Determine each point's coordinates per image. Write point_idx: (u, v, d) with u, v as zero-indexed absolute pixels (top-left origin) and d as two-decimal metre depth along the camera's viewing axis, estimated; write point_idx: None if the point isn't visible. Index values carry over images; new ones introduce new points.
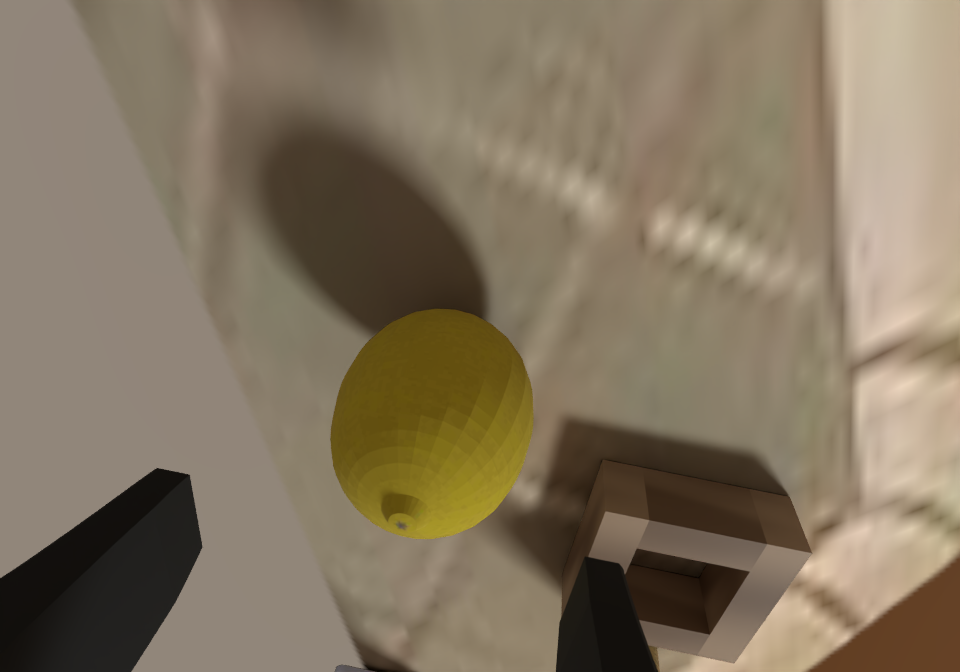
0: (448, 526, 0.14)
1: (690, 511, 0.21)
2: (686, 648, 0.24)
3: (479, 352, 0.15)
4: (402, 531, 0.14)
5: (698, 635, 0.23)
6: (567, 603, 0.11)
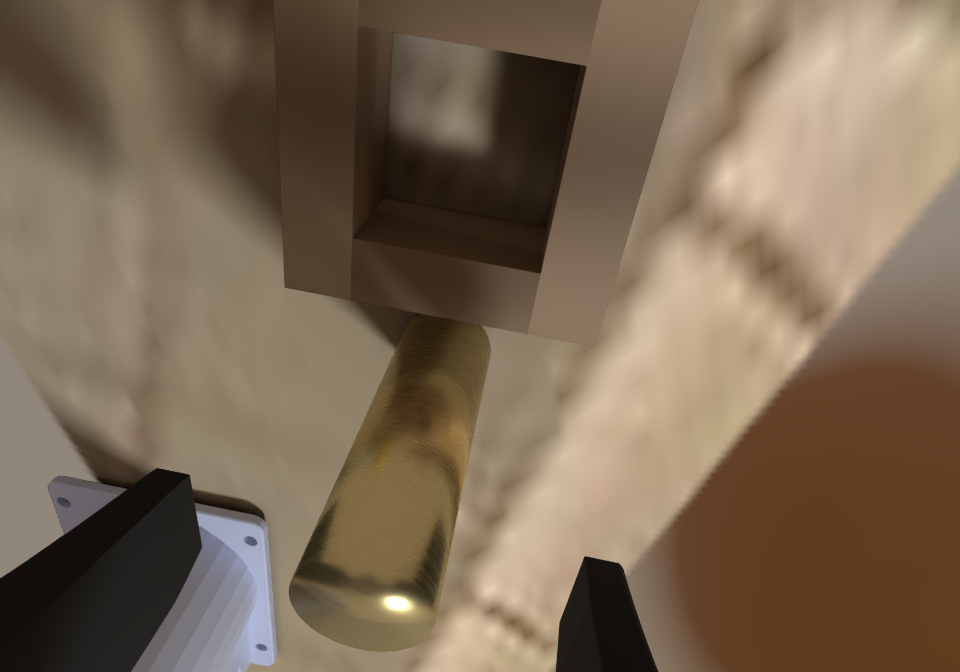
0: None
1: None
2: (505, 317, 0.13)
3: None
4: None
5: (521, 279, 0.13)
6: (567, 603, 0.11)
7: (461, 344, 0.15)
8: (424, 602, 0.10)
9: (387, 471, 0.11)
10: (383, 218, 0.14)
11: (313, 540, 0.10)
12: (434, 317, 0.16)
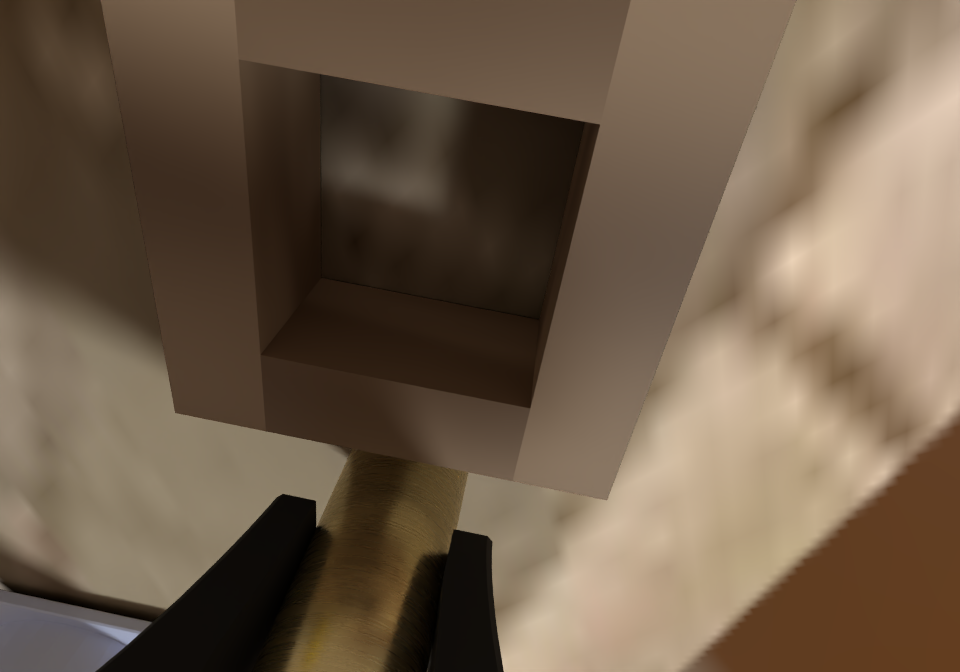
0: None
1: None
2: (481, 460, 0.09)
3: None
4: None
5: (502, 414, 0.09)
6: None
7: (427, 471, 0.11)
8: None
9: None
10: (313, 314, 0.10)
11: None
12: None
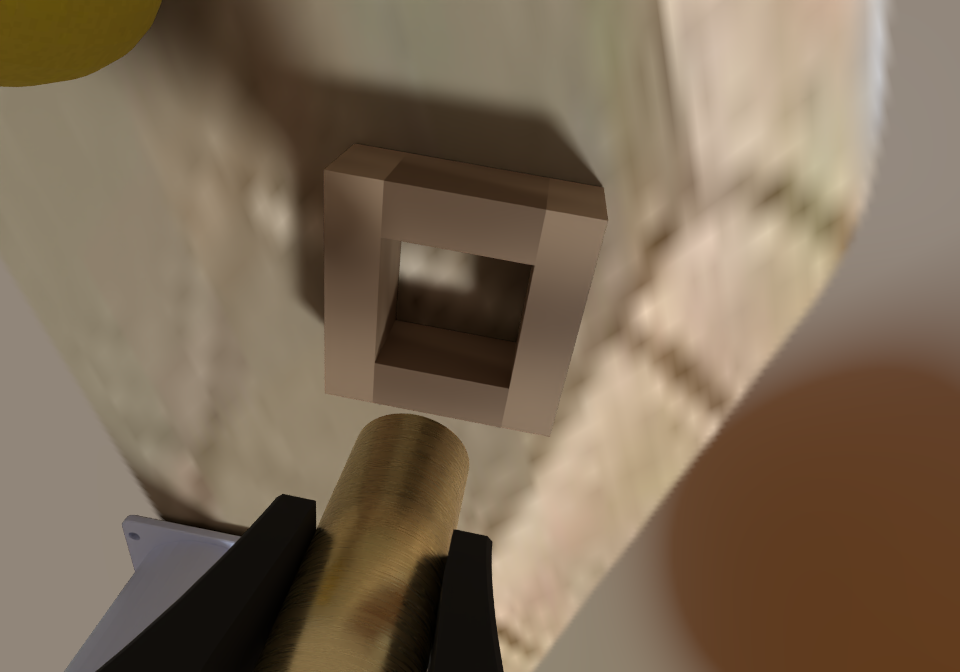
0: None
1: (450, 181, 0.15)
2: (485, 416, 0.18)
3: None
4: None
5: (495, 391, 0.18)
6: None
7: (426, 473, 0.11)
8: None
9: None
10: (396, 341, 0.19)
11: None
12: (393, 429, 0.12)
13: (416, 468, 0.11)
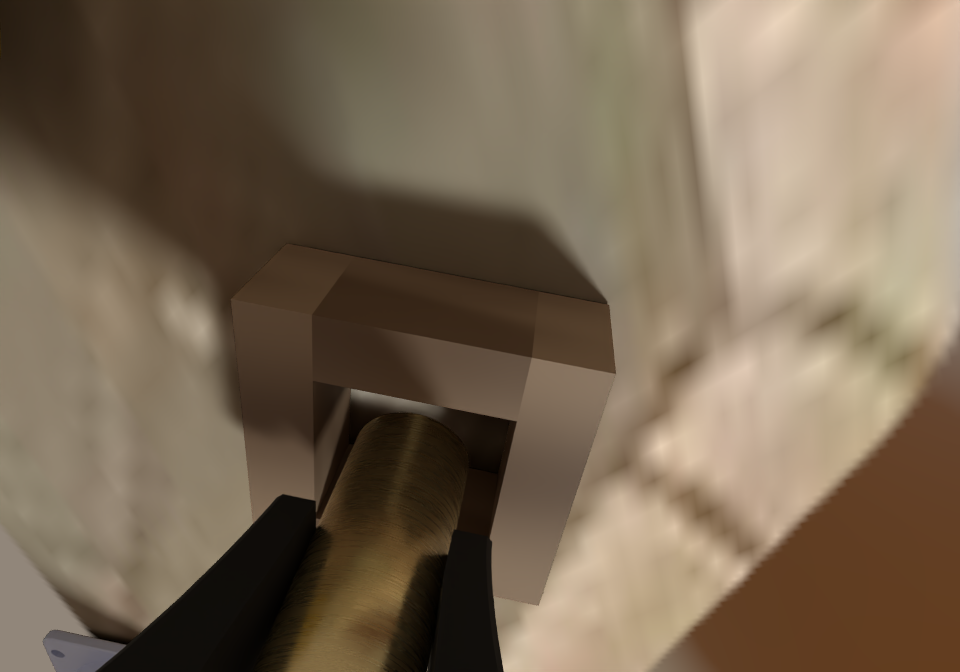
0: None
1: (405, 309, 0.11)
2: None
3: None
4: None
5: None
6: None
7: (426, 472, 0.11)
8: None
9: None
10: None
11: None
12: (393, 428, 0.12)
13: (416, 467, 0.11)
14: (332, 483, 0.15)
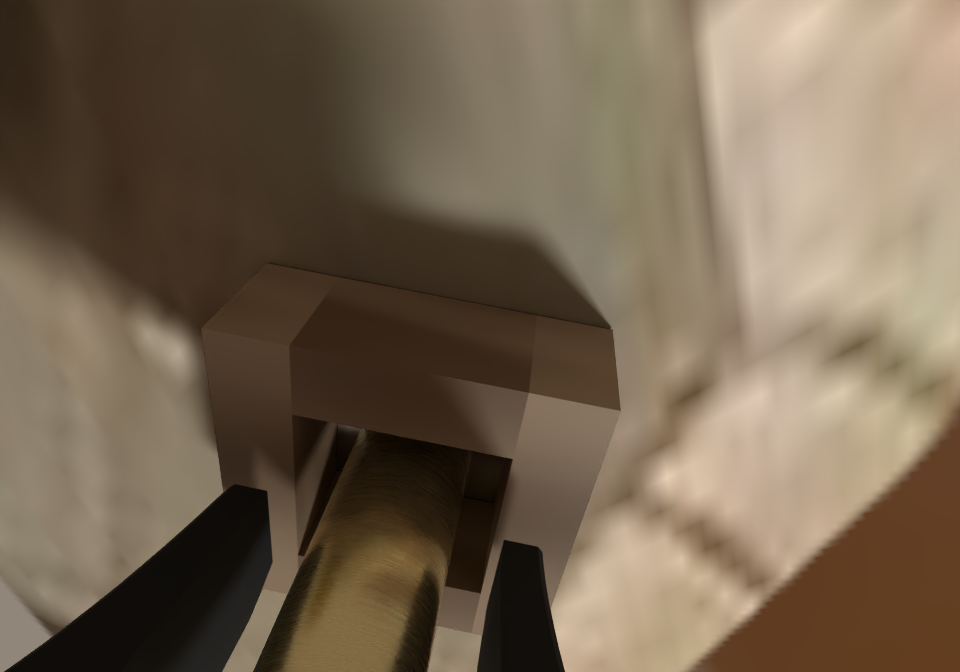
0: None
1: (392, 338, 0.10)
2: (449, 620, 0.13)
3: None
4: None
5: (462, 595, 0.13)
6: None
7: None
8: None
9: (324, 656, 0.08)
10: None
11: None
12: None
13: None
14: (317, 515, 0.14)
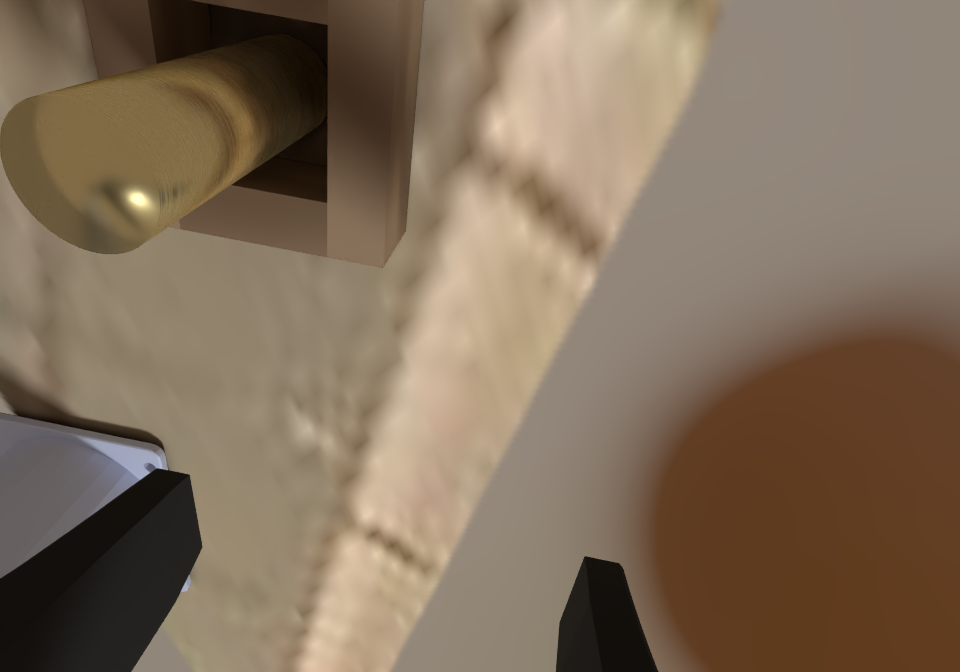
0: None
1: None
2: (307, 242, 0.16)
3: None
4: None
5: (312, 208, 0.15)
6: (567, 603, 0.11)
7: (282, 49, 0.14)
8: (138, 159, 0.09)
9: (133, 73, 0.10)
10: None
11: None
12: (263, 36, 0.15)
13: (274, 45, 0.14)
14: None
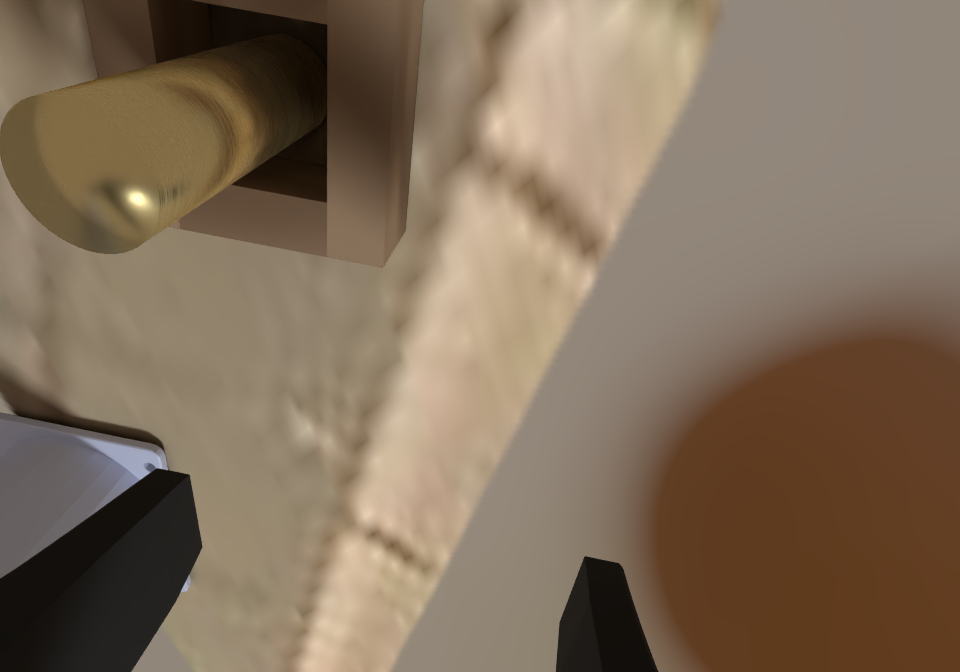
0: None
1: None
2: (307, 242, 0.16)
3: None
4: None
5: (312, 207, 0.15)
6: (567, 603, 0.11)
7: (282, 49, 0.14)
8: (137, 158, 0.09)
9: (133, 72, 0.10)
10: None
11: None
12: None
13: (274, 45, 0.14)
14: None
